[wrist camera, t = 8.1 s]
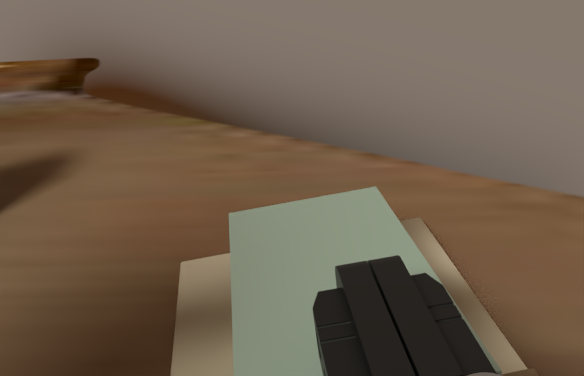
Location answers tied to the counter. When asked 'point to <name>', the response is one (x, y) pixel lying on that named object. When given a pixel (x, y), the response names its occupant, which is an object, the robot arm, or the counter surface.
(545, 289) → the counter surface
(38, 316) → the counter surface
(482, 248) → the counter surface
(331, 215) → the sage block
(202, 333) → the beech board
